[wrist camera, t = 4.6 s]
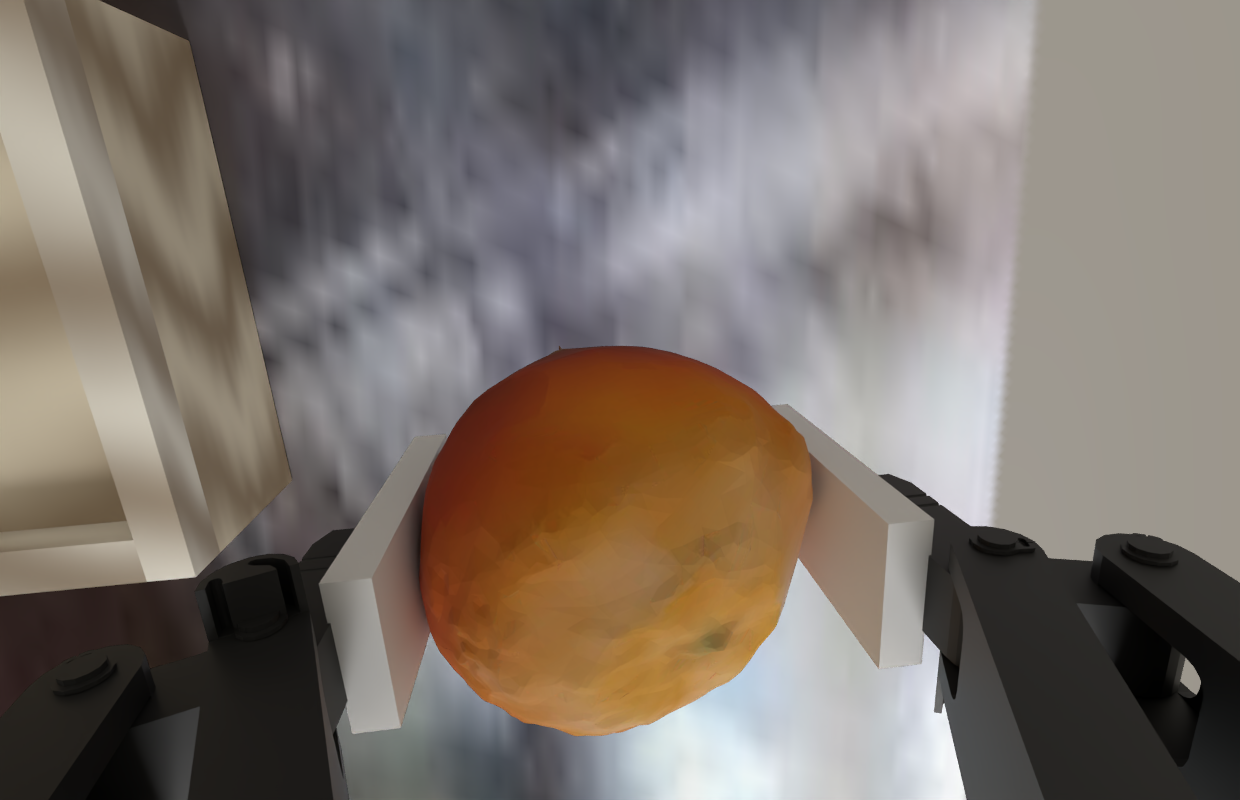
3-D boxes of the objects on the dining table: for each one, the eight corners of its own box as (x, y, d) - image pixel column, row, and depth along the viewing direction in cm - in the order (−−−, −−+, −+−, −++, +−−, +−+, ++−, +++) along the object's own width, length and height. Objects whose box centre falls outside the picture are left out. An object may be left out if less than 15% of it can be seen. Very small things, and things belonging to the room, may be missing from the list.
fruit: (496, 195, 13) (743, 392, 7) (702, 346, 18) (931, 523, 13) (296, 494, 14) (377, 854, 9) (545, 551, 20) (691, 792, 14)
